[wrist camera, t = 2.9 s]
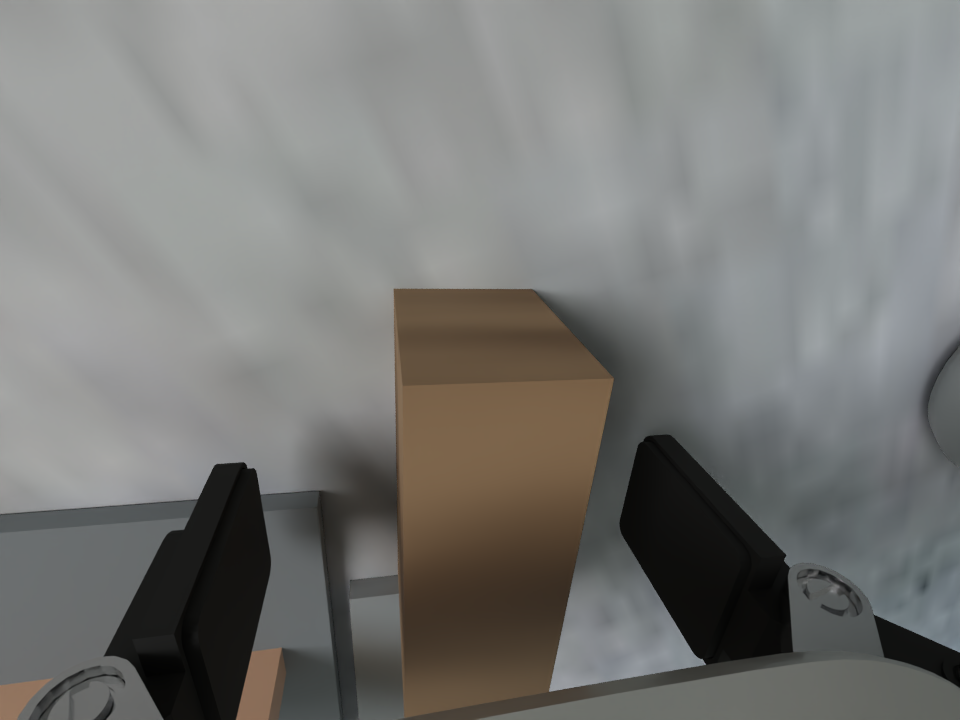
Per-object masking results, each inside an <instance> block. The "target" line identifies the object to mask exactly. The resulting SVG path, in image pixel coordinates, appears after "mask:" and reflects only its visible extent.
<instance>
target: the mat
mask: <svg viewBox="0 0 960 720" xmlns="http://www.w3.org/2000/svg"><path fill="white" fill-rule="evenodd" d="M197 501H198V500H194V501H181V502H167V503H154V504H141V505H128V506H114V507H101V508H88V509H74V510H61V511H48V512H34V513H21V514H8V515H0V685H7V684H14V683H22V682H29V681H36V680H44V679H51V678H55V677H56V676H57V675H59V674H60V673H62V672H63V671H65V670H67V669H69V668H71V667H73V666H75V665H77V664H79V663H81V662H83V661H87V660H90V659H94V658H97V657H103V656H104V654H105V653H106V651H107V649H108V647H109V645H110V643H111V641H112V639H113V637H114V635H115V633H116V631H117V629H118V627H119V625H120V623H121V621H122V619H123V617H124V615H125V613H126V612H127V610H128V608H129V606H130V604H131V602H132V600H133V598H134V596H135V594H136V592H137V590H138V588H139V586H140V584H141V582H142V580H143V578H144V576H145V574H146V572H147V571H148V569H149V567H150V565H151V563H152V561H153V559H154V557H155V555H156V553H157V551H158V549H159V547H160V545H161V543H162V541H163V540H164V538H165V536H166V535H167V534H168V533H169V532H170V531H174V530H184V529H185V526H186V524H187V522H188V520H189V518H190V516H191V514H192V512H193V510H194V507H195V505H196V503H197ZM261 502H262V508H263V513H264V519H265V525H266V531H267V537H268V543H269V549H270V555H271V571H270V577H269V581H268V585H267V589H266V594H265V598H264V602H263V607H262V611H261V615H260V619H259V624H258V628H257V632H256V636H255V641H254V645H253V649H252V652H253V651H260V650H267V649H275V648H282V652H283V658H284V663H285V669H286V677H285V683H284V689H283V695H282V701H281V707H280V713H279V719H278V720H343V712H342V703H341V693H340V683H339V674H338V664H337V655H336V645H335V635H334V626H333V616H332V607H331V597H330V588H329V578H328V568H327V559H326V549H325V540H324V530H323V520H322V511H321V501H320V492H319V491H314V492H301V493H287V494H274V495H261Z"/></svg>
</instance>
